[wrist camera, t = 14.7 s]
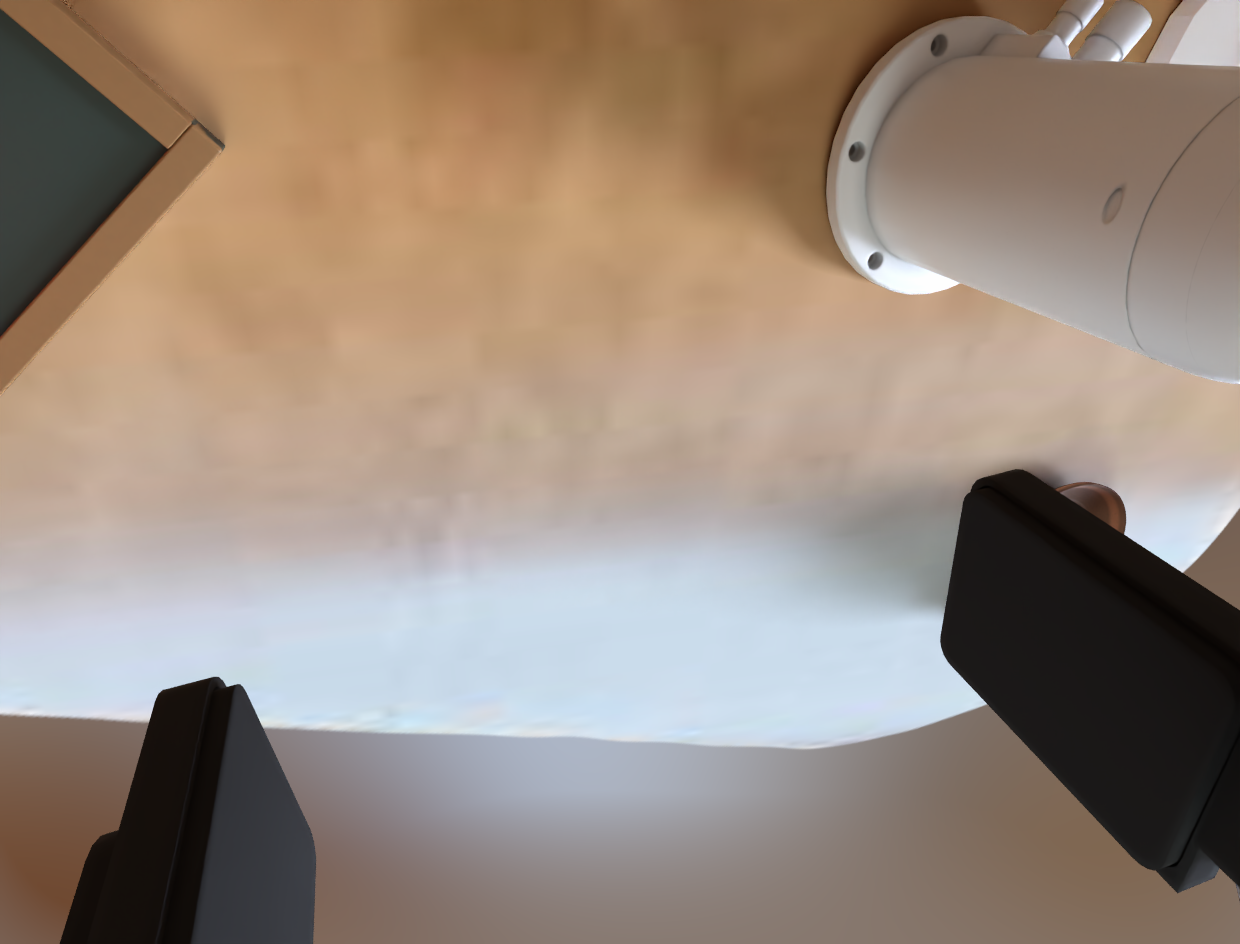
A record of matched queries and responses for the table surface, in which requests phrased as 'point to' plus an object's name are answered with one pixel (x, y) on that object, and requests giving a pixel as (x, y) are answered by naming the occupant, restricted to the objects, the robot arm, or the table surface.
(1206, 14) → the dish
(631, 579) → the table surface
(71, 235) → the chalkboard
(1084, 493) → the cup and saucer
